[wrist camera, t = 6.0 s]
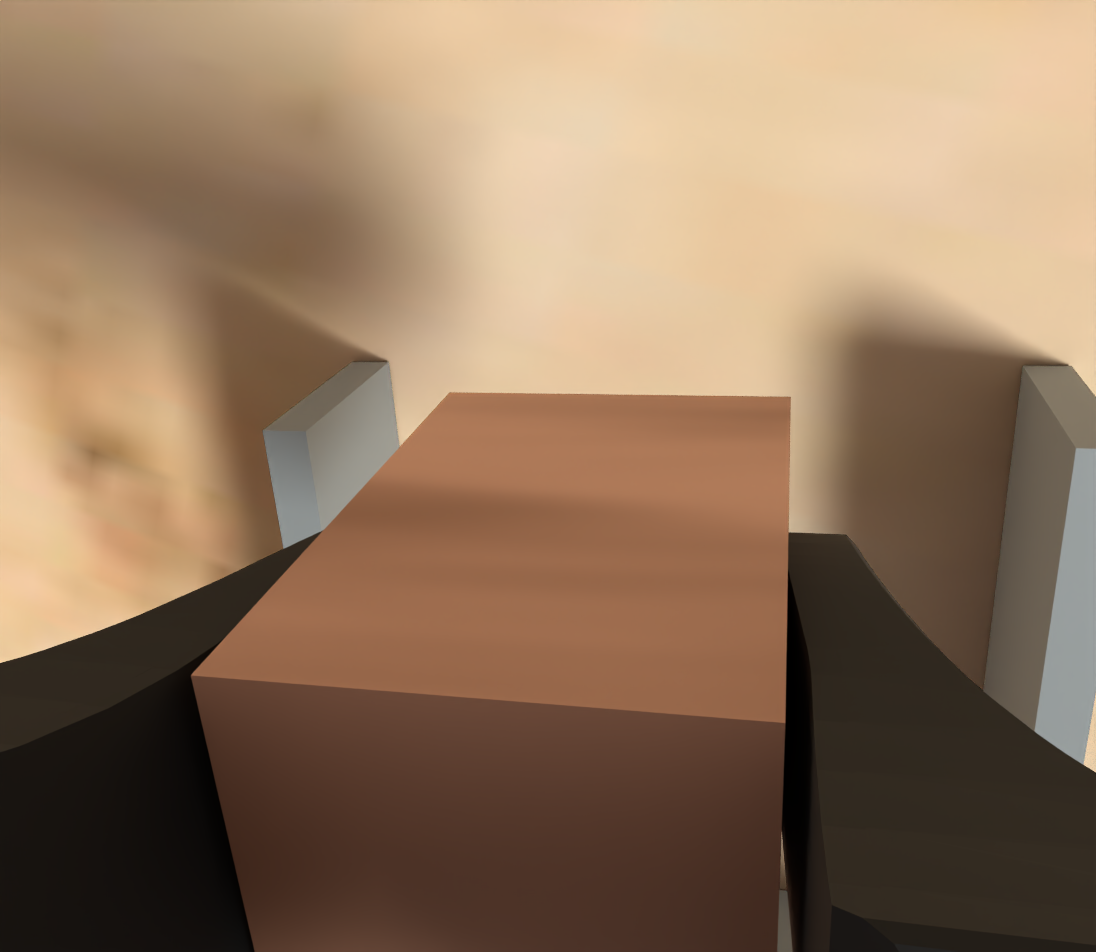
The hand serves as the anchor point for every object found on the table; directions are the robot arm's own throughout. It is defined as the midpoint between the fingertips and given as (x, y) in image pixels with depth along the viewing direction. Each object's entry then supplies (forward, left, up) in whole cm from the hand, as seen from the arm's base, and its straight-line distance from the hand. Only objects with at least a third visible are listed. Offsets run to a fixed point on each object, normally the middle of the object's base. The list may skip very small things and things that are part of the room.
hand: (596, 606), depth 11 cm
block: (0, 0, -2) cm, 2 cm away
